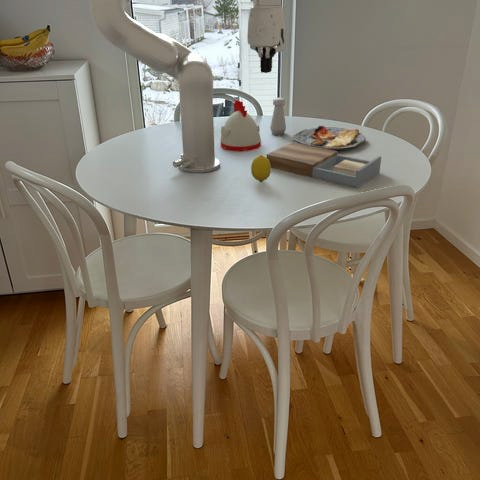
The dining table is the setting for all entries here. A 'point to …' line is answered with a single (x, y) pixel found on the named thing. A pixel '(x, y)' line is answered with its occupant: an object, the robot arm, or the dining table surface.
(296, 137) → the food plate
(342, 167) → the tile
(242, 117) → the kitchen timer
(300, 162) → the wooden square board
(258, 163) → the lemon
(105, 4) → the robot arm
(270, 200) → the dining table surface
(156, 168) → the dining table surface
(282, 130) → the salt shaker
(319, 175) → the box
